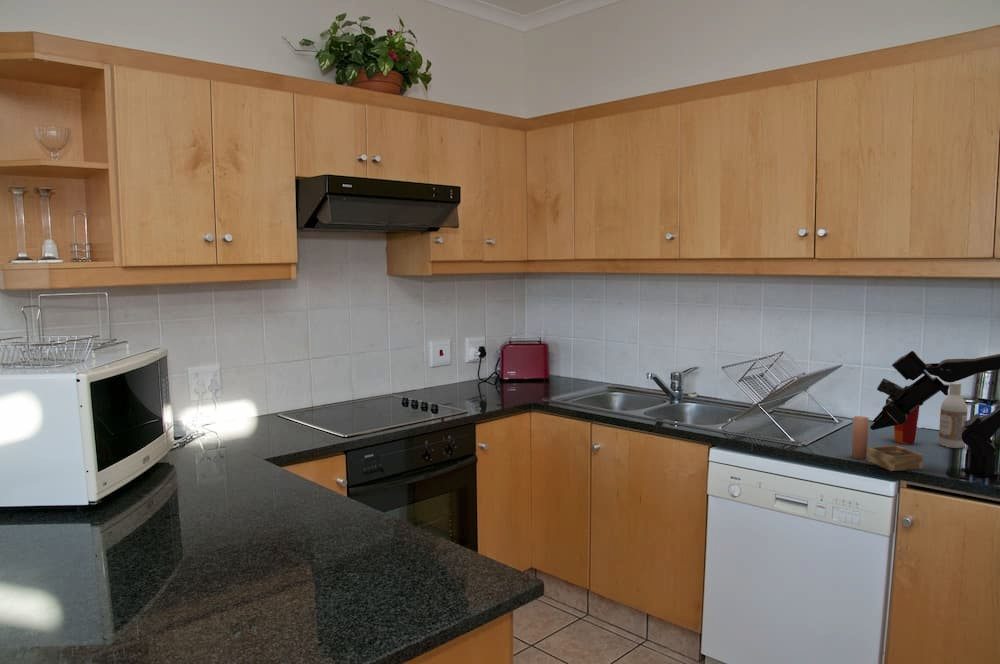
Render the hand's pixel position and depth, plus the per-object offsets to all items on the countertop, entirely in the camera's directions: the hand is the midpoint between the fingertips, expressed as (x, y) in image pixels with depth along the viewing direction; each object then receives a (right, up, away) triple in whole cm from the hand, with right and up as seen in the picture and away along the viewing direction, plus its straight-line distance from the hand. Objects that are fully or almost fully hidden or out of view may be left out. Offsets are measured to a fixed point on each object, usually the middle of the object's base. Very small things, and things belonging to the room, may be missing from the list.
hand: (872, 425), depth 206 cm
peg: (-3, -10, +3) cm, 11 cm away
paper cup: (+20, -8, +19) cm, 29 cm away
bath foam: (+32, -8, +14) cm, 36 cm away
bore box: (+4, -11, -5) cm, 12 cm away
